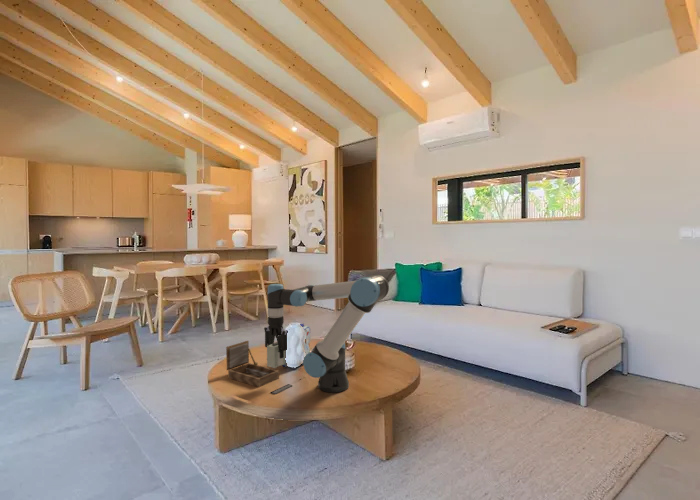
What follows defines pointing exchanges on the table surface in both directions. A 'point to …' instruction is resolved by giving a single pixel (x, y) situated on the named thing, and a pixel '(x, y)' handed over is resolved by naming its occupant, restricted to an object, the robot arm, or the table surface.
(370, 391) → the table surface
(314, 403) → the table surface
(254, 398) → the table surface
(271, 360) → the block
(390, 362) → the table surface
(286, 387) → the mat
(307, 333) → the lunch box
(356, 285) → the robot arm
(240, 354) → the case
